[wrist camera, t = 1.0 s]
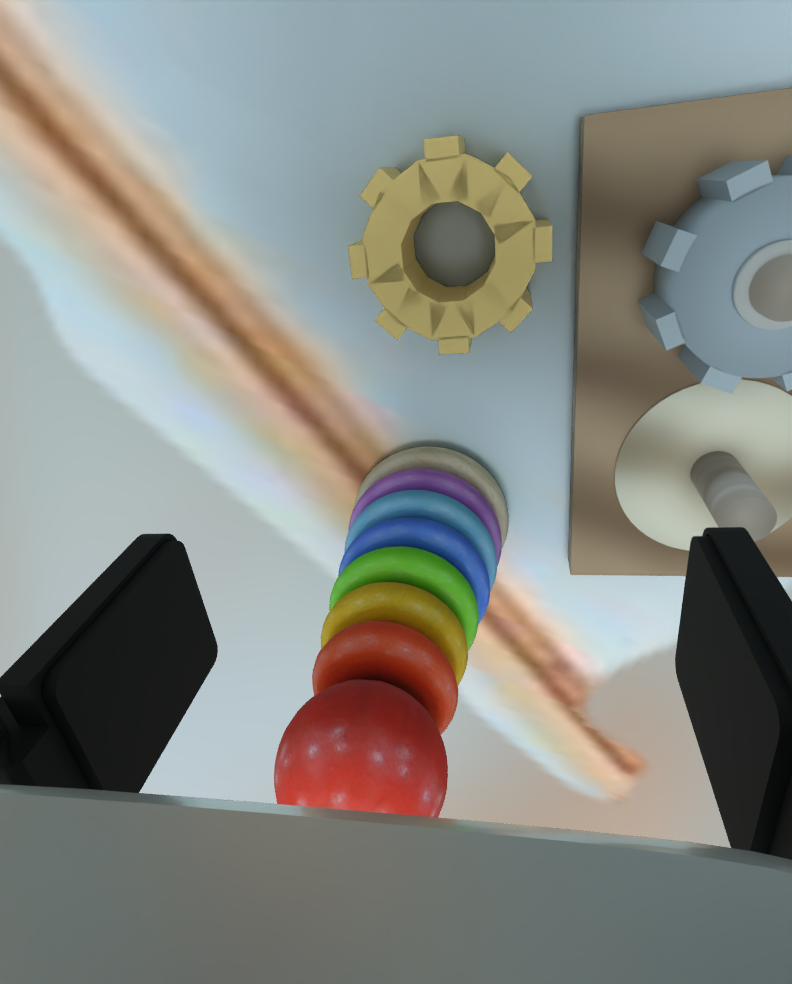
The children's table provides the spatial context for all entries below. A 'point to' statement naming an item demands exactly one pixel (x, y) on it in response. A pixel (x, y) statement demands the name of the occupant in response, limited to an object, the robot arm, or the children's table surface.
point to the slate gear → (723, 276)
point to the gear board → (669, 352)
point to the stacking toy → (397, 638)
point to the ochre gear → (393, 250)
